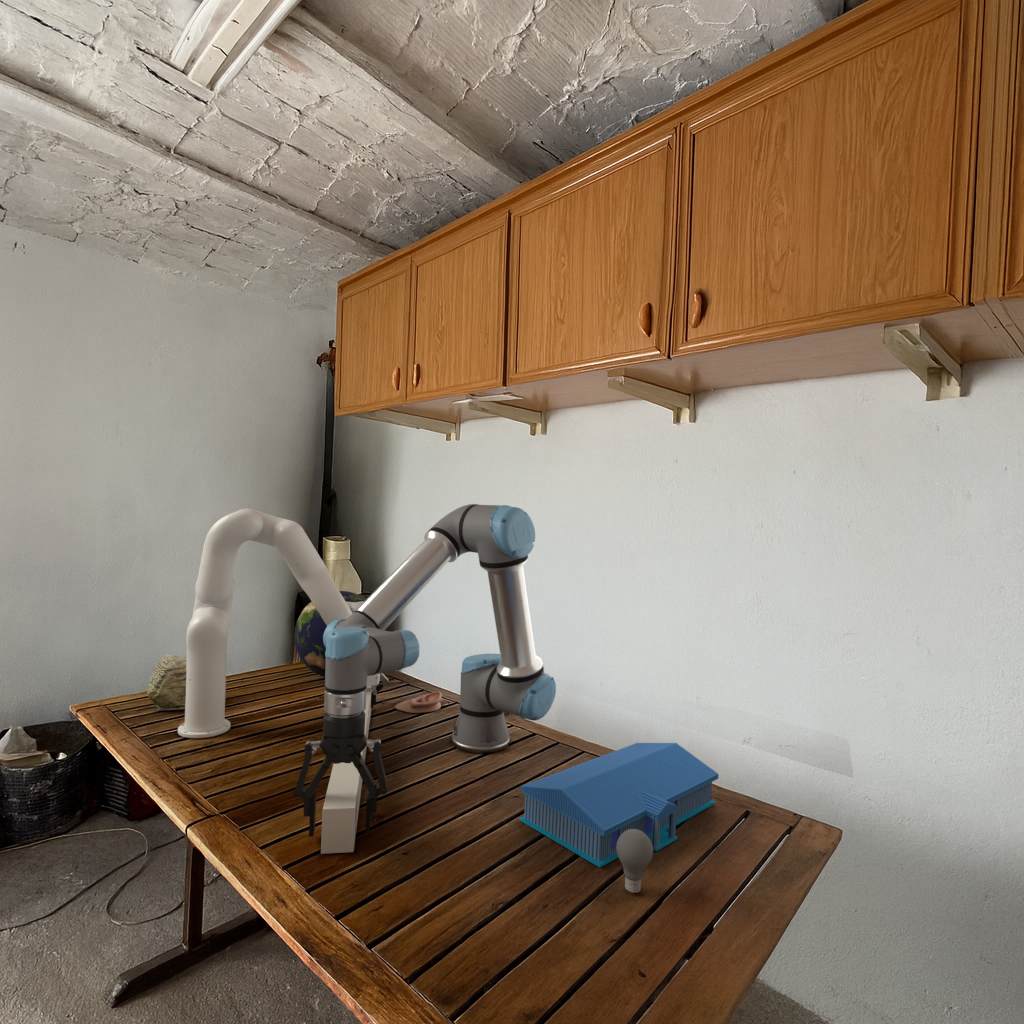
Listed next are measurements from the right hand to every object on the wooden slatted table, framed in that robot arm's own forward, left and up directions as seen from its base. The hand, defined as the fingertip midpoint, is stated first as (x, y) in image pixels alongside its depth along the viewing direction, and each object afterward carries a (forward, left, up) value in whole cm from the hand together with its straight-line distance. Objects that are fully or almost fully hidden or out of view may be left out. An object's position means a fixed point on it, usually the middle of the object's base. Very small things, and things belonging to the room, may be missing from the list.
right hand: (340, 831), depth 118 cm
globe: (-80, -70, -1) cm, 106 cm away
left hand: (-53, -38, +2) cm, 66 cm away
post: (-27, -19, -1) cm, 33 cm away
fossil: (-32, -87, -1) cm, 93 cm away
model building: (-37, +45, -1) cm, 58 cm away
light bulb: (-12, +53, -1) cm, 54 cm away
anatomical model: (-69, -29, -1) cm, 75 cm away
